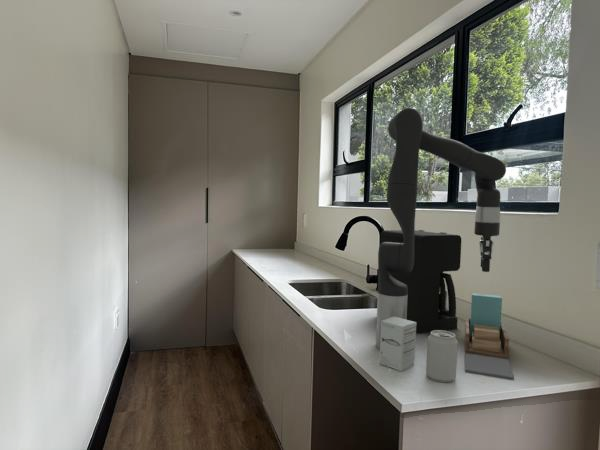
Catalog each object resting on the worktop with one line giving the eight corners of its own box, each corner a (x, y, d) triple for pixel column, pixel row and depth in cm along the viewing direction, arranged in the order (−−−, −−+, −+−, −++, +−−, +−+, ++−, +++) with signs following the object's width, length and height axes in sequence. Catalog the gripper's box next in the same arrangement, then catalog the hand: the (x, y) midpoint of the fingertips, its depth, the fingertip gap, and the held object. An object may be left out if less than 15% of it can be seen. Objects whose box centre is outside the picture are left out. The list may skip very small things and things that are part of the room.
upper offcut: (498, 342, 129) (499, 332, 129) (474, 338, 131) (474, 329, 131) (497, 336, 134) (497, 327, 134) (473, 333, 137) (474, 324, 137)
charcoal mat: (513, 379, 111) (514, 377, 111) (465, 371, 115) (465, 369, 115) (508, 361, 124) (508, 359, 124) (464, 354, 128) (465, 353, 128)
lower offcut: (500, 352, 128) (500, 342, 128) (471, 348, 131) (472, 339, 131) (498, 345, 135) (498, 336, 135) (471, 341, 138) (471, 332, 137)
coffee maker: (467, 331, 152) (472, 235, 151) (425, 337, 144) (430, 235, 142) (415, 312, 178) (418, 229, 176) (377, 316, 169) (380, 229, 167)
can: (436, 385, 106) (438, 338, 106) (420, 373, 113) (422, 329, 113) (462, 382, 108) (464, 336, 108) (444, 370, 115) (446, 327, 115)
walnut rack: (507, 359, 126) (509, 336, 125) (464, 352, 130) (466, 330, 130) (503, 342, 141) (504, 322, 140) (464, 337, 145) (465, 317, 145)
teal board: (499, 343, 137) (502, 298, 136) (469, 339, 140) (472, 295, 139) (498, 340, 140) (501, 296, 139) (469, 336, 143) (471, 293, 142)
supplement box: (378, 364, 119) (380, 320, 118) (392, 357, 124) (394, 315, 123) (401, 372, 114) (403, 326, 113) (415, 365, 119) (417, 321, 118)
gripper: (502, 222, 130) (499, 274, 132) (498, 220, 144) (495, 266, 145) (475, 221, 133) (473, 272, 134) (474, 219, 146) (471, 265, 147)
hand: (484, 269), depth 140 cm, fingers open, 8 cm apart
